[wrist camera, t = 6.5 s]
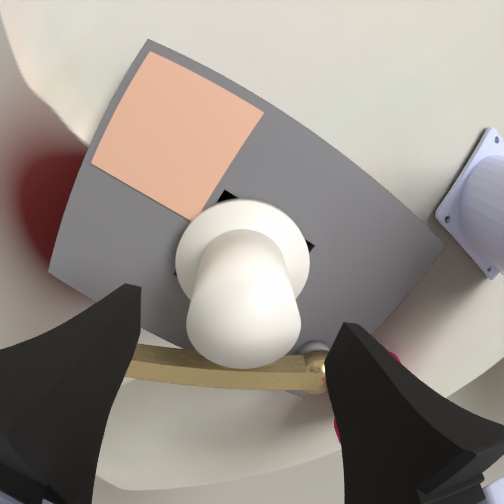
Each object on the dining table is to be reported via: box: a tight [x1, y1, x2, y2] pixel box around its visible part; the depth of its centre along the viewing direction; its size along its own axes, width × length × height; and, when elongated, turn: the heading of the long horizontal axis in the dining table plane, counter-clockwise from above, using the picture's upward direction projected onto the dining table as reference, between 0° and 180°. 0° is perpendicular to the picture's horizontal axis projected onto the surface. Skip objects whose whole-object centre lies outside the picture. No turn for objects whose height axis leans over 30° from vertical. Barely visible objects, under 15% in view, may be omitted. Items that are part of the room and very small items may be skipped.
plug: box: [175, 198, 310, 369], centre depth 14 cm, size 6×6×7 cm
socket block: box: [48, 39, 446, 397], centre depth 16 cm, size 19×14×3 cm
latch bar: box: [125, 344, 329, 394], centre depth 16 cm, size 17×2×1 cm, turn 85°
